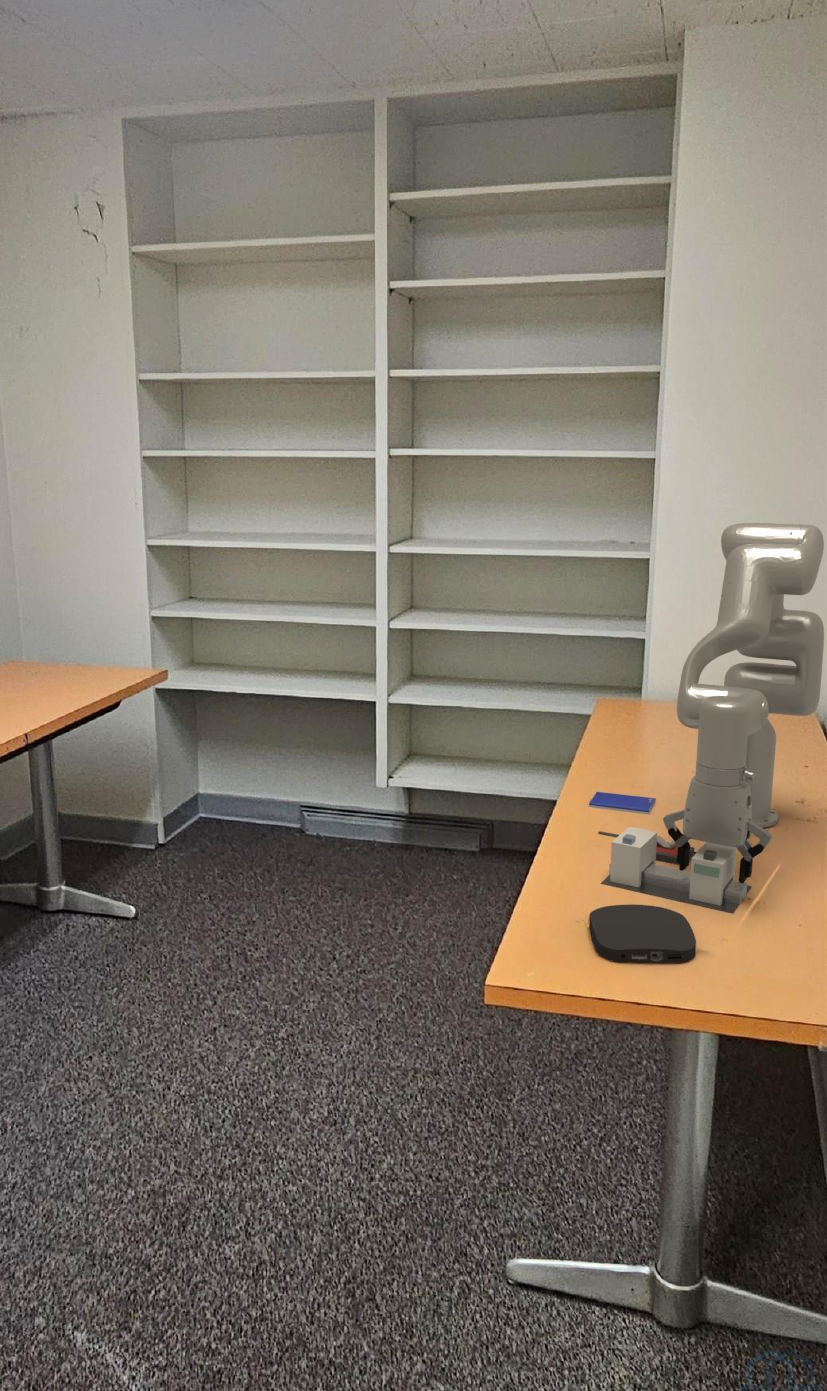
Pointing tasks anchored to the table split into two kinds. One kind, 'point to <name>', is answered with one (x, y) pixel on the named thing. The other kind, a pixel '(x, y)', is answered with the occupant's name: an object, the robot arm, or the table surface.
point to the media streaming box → (641, 934)
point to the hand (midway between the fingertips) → (713, 873)
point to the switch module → (712, 872)
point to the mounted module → (632, 855)
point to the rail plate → (674, 895)
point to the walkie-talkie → (662, 849)
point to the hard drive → (622, 803)
